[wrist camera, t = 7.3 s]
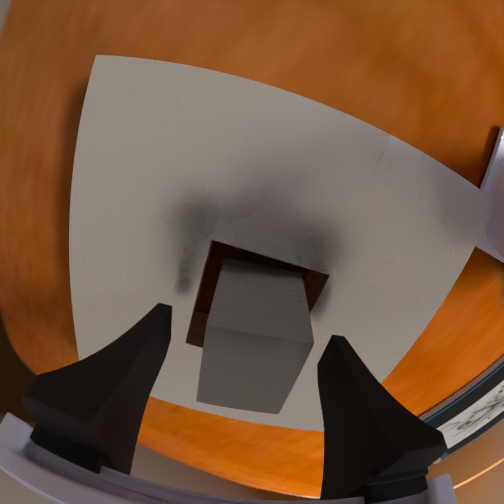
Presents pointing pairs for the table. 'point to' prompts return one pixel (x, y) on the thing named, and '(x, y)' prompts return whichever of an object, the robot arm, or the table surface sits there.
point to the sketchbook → (470, 409)
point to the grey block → (255, 335)
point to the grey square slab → (255, 218)
